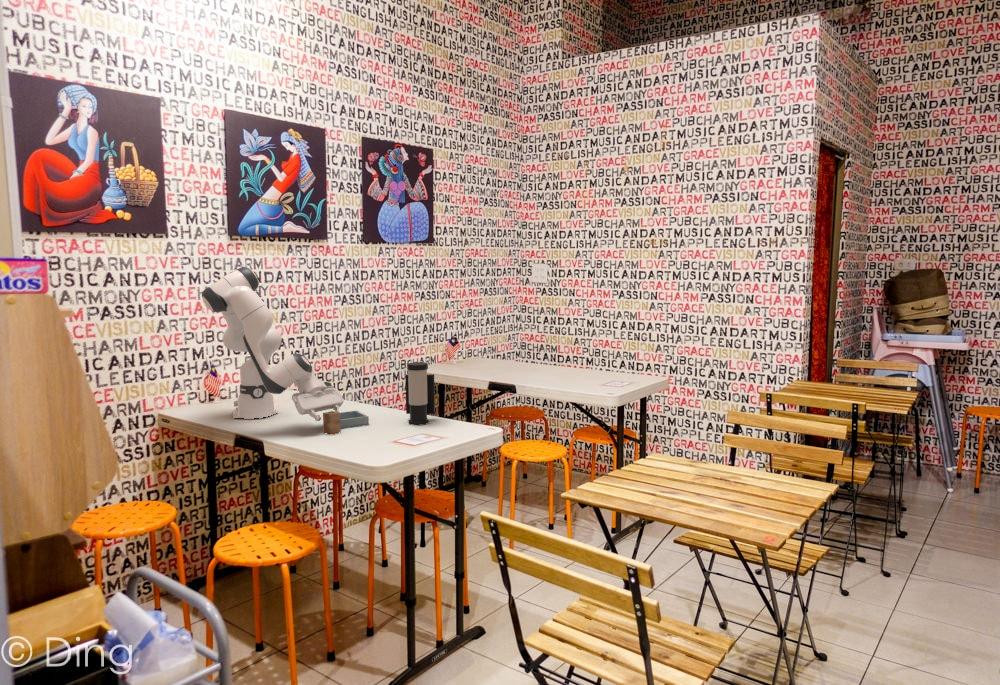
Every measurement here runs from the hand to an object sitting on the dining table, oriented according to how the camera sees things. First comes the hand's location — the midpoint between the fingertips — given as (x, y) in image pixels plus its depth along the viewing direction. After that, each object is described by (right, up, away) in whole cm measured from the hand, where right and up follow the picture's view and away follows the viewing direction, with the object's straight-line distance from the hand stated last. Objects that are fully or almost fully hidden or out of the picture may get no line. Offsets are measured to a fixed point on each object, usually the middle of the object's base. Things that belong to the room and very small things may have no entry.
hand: (328, 417), depth 268 cm
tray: (+4, -4, +15) cm, 16 cm away
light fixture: (+33, -4, +17) cm, 38 cm away
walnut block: (+1, -6, +1) cm, 6 cm away
